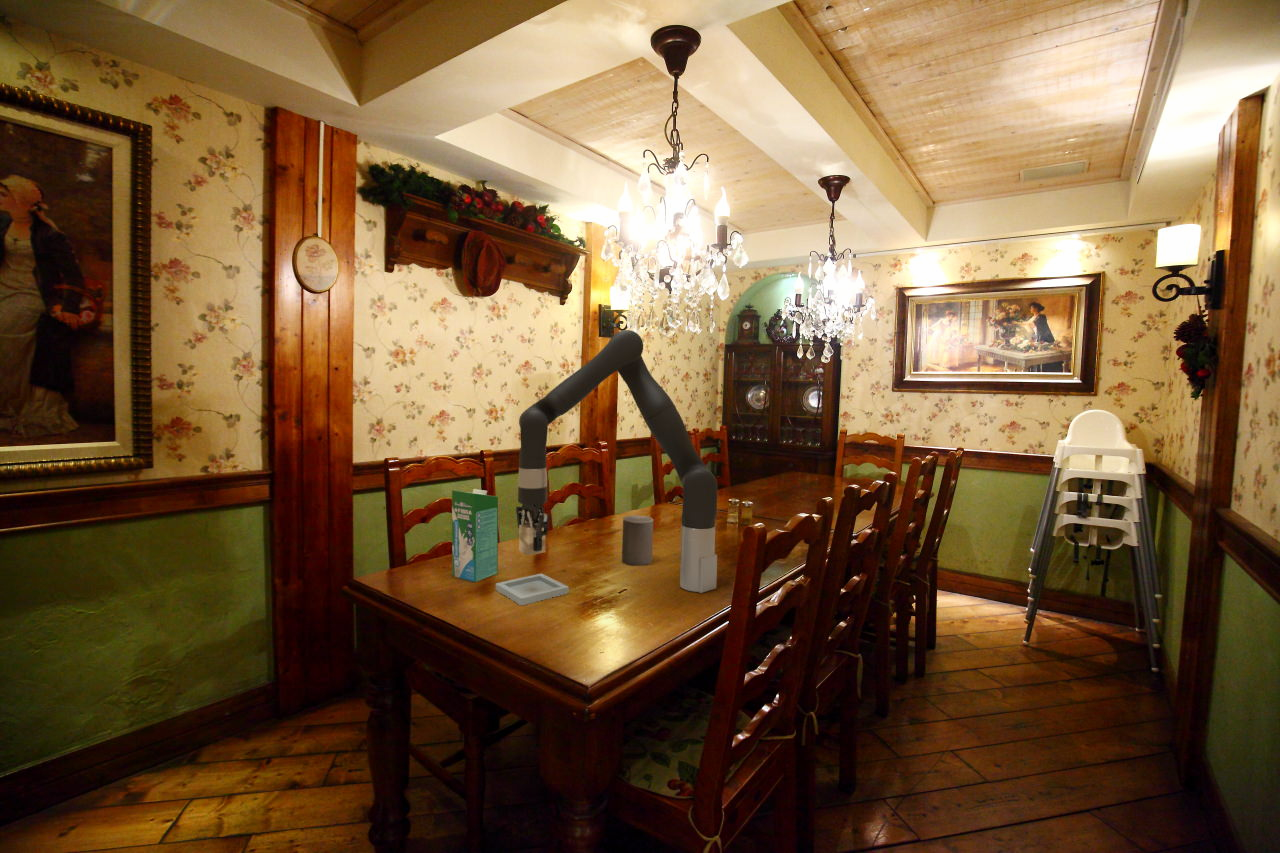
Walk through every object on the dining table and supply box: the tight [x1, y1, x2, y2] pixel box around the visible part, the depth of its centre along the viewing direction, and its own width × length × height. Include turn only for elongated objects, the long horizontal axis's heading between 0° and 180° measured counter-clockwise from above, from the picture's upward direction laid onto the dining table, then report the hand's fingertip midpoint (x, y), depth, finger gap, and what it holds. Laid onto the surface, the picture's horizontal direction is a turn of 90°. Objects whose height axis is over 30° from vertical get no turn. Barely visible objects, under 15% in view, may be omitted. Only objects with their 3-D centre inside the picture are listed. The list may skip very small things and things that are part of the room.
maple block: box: [518, 523, 546, 556], centre depth 152 cm, size 5×5×7 cm
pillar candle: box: [621, 514, 654, 566], centre depth 181 cm, size 10×10×15 cm
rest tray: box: [495, 572, 570, 606], centre depth 153 cm, size 14×14×2 cm
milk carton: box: [451, 488, 499, 583], centre depth 165 cm, size 9×9×25 cm
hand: (532, 547), depth 152 cm, fingers closed on maple block, 5 cm apart
